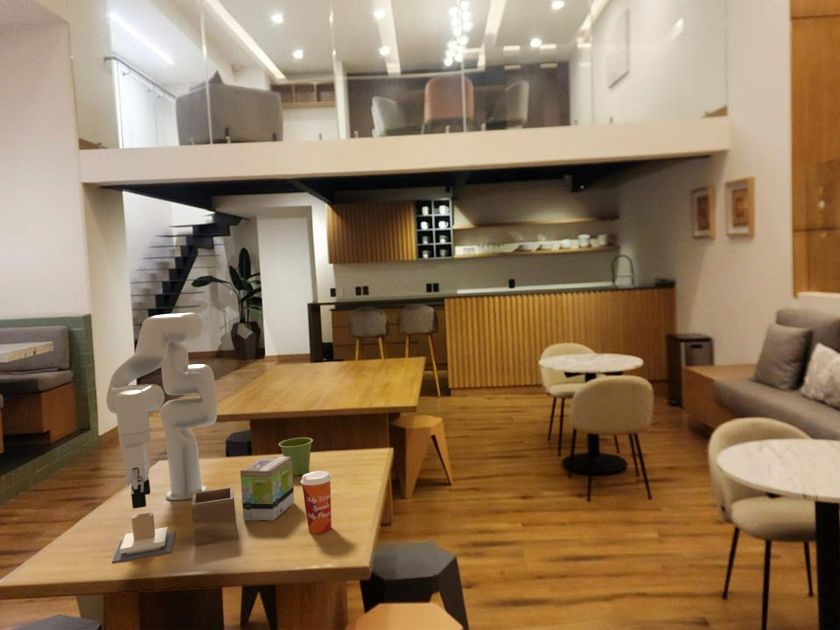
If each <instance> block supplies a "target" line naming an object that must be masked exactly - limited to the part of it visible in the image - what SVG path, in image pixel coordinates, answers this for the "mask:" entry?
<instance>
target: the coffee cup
mask: <svg viewBox="0 0 840 630" xmlns="http://www.w3.org/2000/svg"><path fill="white" fill-rule="evenodd" d="M301 476H302V477H301V480H300V483H301V487H302V493H303V501H304V509H305V515H306V522H307V526H308V527H307V528H308V532H309V533H311V534H313V533H314V534H313V535H316V534H317V535H318V534H319V533H320V534H324V532H325V533H327V531H328V532H329V531H331V530H332V529H331V528H332V503H331V501H332V497H331V496H332V495H331V494H332V493H331V480H332V476H331V474H330V473H329V472H328V471H323V470H317V471H309V472H308V473H306V474H304V475H301ZM320 534H319V535H320Z"/></svg>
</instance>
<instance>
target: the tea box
mask: <svg viewBox="0 0 840 630" xmlns="http://www.w3.org/2000/svg"><path fill="white" fill-rule="evenodd" d="M239 473H240V487H241V489H240V490H241V504H242V505H241V506H242V518H243V520H244V521H258V520H267V521H268V522H269V521H275V520H276V519H277V518H278V517H279V516H280V515H281V514H283V513H284V512H285V511H286V510H288V508H289V507H291V506H292V505H294V503H295V491H294V476H293V472H292V459H291V457H284V456H262V457H260V458H258V459H257V460H255V461H254V462H252V463H251V464H249V465H247V466H246V467H244V468H242V469H241V470H240V471H239Z"/></svg>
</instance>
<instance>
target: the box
mask: <svg viewBox="0 0 840 630" xmlns="http://www.w3.org/2000/svg"><path fill="white" fill-rule="evenodd" d="M234 493H235V491H234V487H233V486H228V487H224V488H223V487H222V488H216V489H209V490H208V489H207V491H202V492H195V493H193V498H191V514H192V527H193V535H194V536H193V537H194V546H196V547H198V546H204V545H208V544H210V545H211V544H215V543H220V542H227V541H232V540H237V539H238V529H237V525H238V524H237V516H236V505H235V504H236V503H235V494H234Z"/></svg>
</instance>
